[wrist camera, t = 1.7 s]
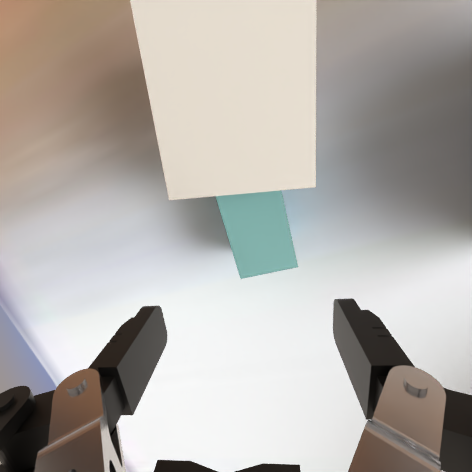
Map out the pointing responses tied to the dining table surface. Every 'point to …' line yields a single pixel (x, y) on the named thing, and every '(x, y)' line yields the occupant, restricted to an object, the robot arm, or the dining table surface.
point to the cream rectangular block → (231, 93)
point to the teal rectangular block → (258, 232)
